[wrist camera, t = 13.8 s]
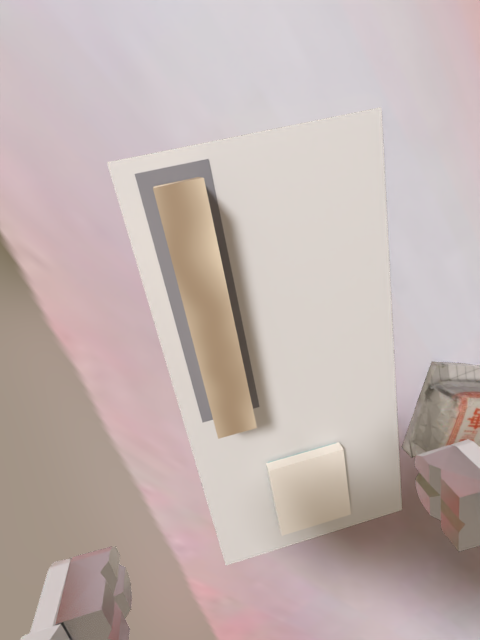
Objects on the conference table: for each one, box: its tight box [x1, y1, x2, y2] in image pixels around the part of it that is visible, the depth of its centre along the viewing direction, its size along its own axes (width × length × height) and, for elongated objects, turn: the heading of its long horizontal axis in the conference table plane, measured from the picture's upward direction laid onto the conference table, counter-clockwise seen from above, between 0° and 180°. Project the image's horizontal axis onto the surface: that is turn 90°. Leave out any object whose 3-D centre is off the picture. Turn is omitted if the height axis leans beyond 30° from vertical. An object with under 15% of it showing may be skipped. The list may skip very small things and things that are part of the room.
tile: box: [266, 442, 351, 536], centre depth 37 cm, size 7×1×8 cm
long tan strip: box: [153, 177, 257, 439], centre depth 28 cm, size 3×18×4 cm, turn 11°
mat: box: [107, 107, 402, 565], centre depth 34 cm, size 19×38×1 cm, turn 11°
